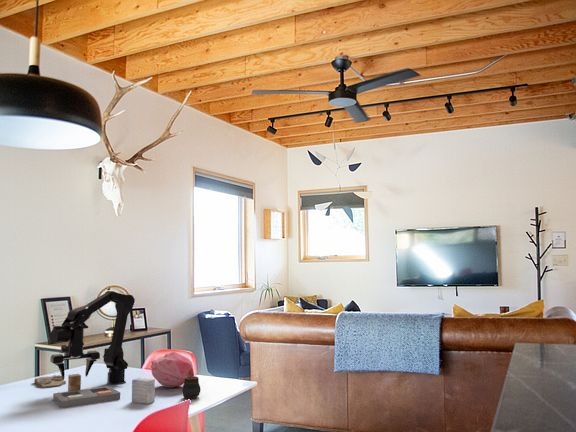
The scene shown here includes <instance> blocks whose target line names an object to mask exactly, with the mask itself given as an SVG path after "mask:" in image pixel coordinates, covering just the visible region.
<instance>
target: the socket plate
mask: <svg viewBox="0 0 576 432" xmlns="http://www.w3.org/2000/svg"><path fill="white" fill-rule="evenodd" d="M118 400H121V392H120V391H119V390H117V389H115V388H113V386H111V385H106V386H98V387H89V388H84V389H81V390H75V391H68V390H67V391H63V392H62V391H61V392H55V393H52V401H54V402H55V403H56V404H57V405H58V406H59V407H60V409H64V408H70V407H78V406H83V405H85V406H86V405H90V404H98V403H104V402H109V401H110V402H111V401H118Z"/></svg>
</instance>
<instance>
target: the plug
mask: <svg viewBox="0 0 576 432" xmlns="http://www.w3.org/2000/svg"><path fill="white" fill-rule="evenodd" d="M67 378H68V382H67V392H68V391H75V390H82V389H81V386H82V385H81V384H82V375H81V374H80V373H74V374H73V373H72V374H68V377H67Z"/></svg>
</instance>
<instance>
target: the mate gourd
mask: <svg viewBox="0 0 576 432" xmlns="http://www.w3.org/2000/svg"><path fill="white" fill-rule="evenodd" d="M190 375H191V376H189V377H185V382H184V384H183V385H182V390H181V393H182V396H183V397H184V399H187V400H194V399H197V398H198V397H199V396H200V394H201V390H202V389H201V386H200V383H199V382H200V381H199V380H200V379H199V376H195V375H194V376H192V373H191V371H190Z"/></svg>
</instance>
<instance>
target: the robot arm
mask: <svg viewBox="0 0 576 432" xmlns="http://www.w3.org/2000/svg"><path fill="white" fill-rule="evenodd" d="M135 300H136V299H135V298H134V295H132V294H126V293H125V294H123V293H119V292H116V291H115V290H106V291H105V292H104V293H103V294H101V295H99V296H97V298H95V299H93V300H91V301H90V302H89V303H86V304H85V305H82V306H79V307H76V308H74V309H71V310H69V312H67V315H66V317H65V319H64V321H63V323H61V325H54V326H53V328H52V329H51V332H50V333H49V338H50V341H51V343H52V344H58V343H64V342H65V343H66V342H68V343H67V344H61V345H60V353H57V354H52V355H51V356H50V363H52V364H54V365H55V366H57V367H58V370H59V372H60V376H62V379H63V380H64V381H65V362H64V361H70V360H81V359H85V362H86V364H85V365H86V366H85V372H84V373H85V374H84V375H85V378H86V377H88V375H89V373H90V371H91V368H92V366H93V365H94V363H95V362H97V360H100V359H101V354H100V352H99V351H97V350H88V351H87V352H86V353H84V345H85V342H84V335H85V334H84V333H85V331H84V329H89V326H88V325H87V324H86V322H87V321H88V320H89V319H90V317H91V316H92V314H94V313H95V312H96V311H98V310H100V309H101V308H103V307H105V306H107V304H109V303H110V302H111V303H114V307H115V310H116V316H115V322H114V327H113V332H112V336H111V340H110V341H111V342H110V345H109V347H108V348H106V347H105V348H104V351H103V355H102V358H103V362H104V364H105V366H106V369H108V371H107V379H106V380H107V381H106V382H107V383H108V384H110V385H116V384H118V385H119V384H125V383H126V382H127V381H125V378H126V377H125V371H126V370H127V369H128V367H129V366H128V365H129V363H128V362H127V361H126V360H125V359H124V355H125V354H124V350H123V342H124V337H125V333H126V332H125V331H126V326H127V322H128V317H129V314H130V312H132V311H133V307H134V305H135V302H136V301H135ZM63 354H65V355H63Z"/></svg>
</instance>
